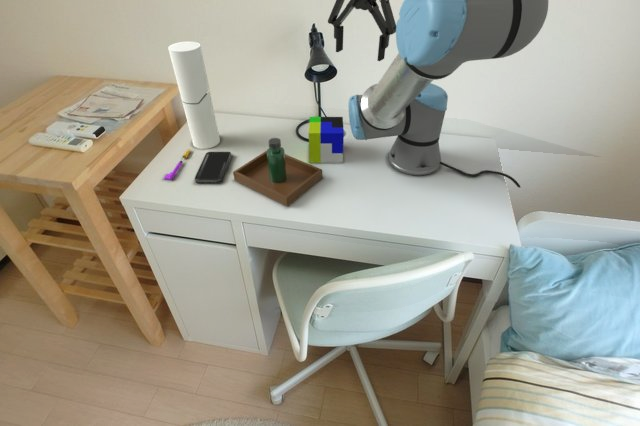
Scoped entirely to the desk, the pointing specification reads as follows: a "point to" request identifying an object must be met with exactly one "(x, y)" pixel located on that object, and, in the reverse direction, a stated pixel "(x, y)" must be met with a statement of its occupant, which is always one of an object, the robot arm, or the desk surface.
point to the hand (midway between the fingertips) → (359, 55)
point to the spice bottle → (276, 161)
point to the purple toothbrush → (177, 167)
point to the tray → (285, 192)
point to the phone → (213, 168)
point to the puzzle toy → (326, 139)
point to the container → (195, 93)
